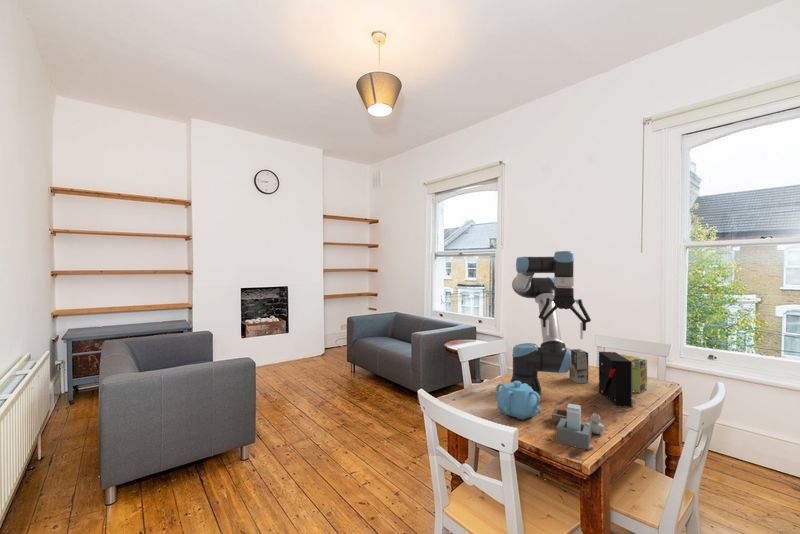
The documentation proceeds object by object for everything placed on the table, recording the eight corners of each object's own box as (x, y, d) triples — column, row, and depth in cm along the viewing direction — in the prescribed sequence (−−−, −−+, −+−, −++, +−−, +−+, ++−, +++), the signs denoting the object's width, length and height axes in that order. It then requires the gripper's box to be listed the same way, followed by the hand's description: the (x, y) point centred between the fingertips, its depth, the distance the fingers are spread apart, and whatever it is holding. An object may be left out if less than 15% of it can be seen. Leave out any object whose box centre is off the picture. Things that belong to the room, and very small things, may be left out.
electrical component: (636, 407, 155) (636, 361, 155) (611, 405, 157) (611, 360, 157) (620, 393, 172) (620, 352, 172) (597, 392, 174) (597, 351, 175)
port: (556, 442, 124) (556, 426, 124) (561, 431, 133) (561, 416, 133) (588, 450, 119) (588, 434, 119) (591, 438, 127) (591, 423, 127)
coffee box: (589, 383, 188) (588, 352, 188) (576, 383, 188) (576, 352, 188) (580, 377, 197) (580, 348, 197) (568, 377, 197) (568, 348, 197)
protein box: (640, 393, 172) (640, 361, 172) (606, 385, 184) (606, 355, 184) (647, 389, 178) (647, 358, 178) (614, 381, 190) (614, 352, 190)
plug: (568, 436, 129) (568, 403, 129) (581, 439, 126) (581, 405, 126) (566, 440, 125) (566, 407, 125) (579, 444, 123) (579, 409, 123)
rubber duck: (585, 433, 131) (585, 411, 131) (590, 427, 136) (590, 406, 136) (601, 437, 127) (601, 415, 127) (606, 431, 132) (606, 410, 132)
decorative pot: (500, 421, 141) (500, 387, 141) (494, 405, 157) (494, 375, 157) (542, 423, 139) (542, 389, 139) (532, 407, 155) (532, 376, 155)
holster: (551, 424, 138) (551, 414, 138) (555, 417, 145) (555, 407, 145) (574, 429, 134) (574, 419, 134) (577, 421, 140) (577, 411, 140)
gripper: (531, 286, 155) (531, 335, 155) (596, 288, 141) (596, 341, 141) (535, 286, 161) (535, 332, 161) (597, 287, 148) (598, 338, 148)
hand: (564, 336), depth 151 cm, fingers open, 13 cm apart
